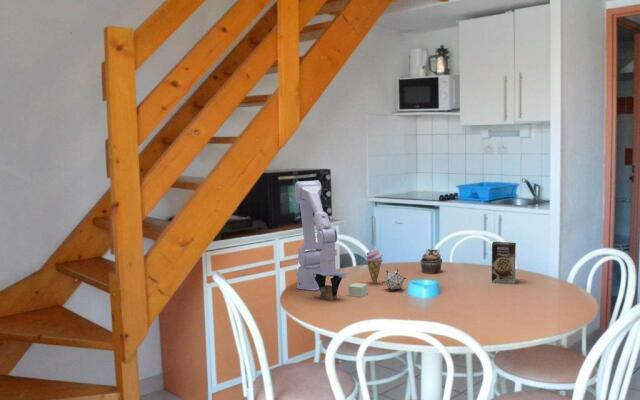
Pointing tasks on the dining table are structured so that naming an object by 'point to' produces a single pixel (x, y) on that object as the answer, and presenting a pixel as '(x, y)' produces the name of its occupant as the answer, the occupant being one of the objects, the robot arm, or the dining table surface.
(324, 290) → the walnut cube
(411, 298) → the dining table surface
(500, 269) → the coffee box
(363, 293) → the base block
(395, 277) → the game die
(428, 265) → the cupcake
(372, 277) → the ice cream cone
